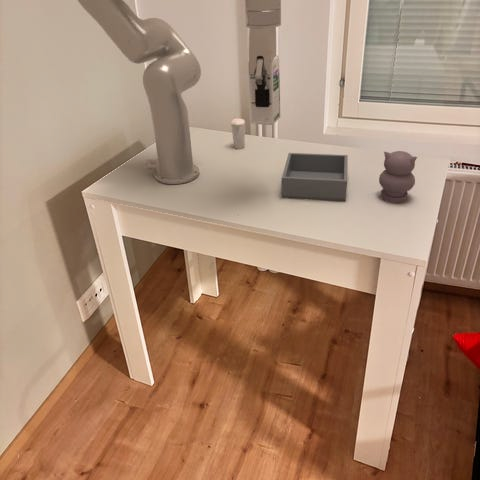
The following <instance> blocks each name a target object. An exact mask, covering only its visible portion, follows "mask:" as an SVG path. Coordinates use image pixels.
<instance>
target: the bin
mask: <svg viewBox="0 0 480 480" xmlns="http://www.w3.org/2000/svg"><path fill="white" fill-rule="evenodd" d="M348 157H349V155H348V154H330V153H329V154H328V153H326V154H325V153H306V152H304V153H303V152H300V153H299V152H288V154H287V158H286V161H285V166H284V169H283V172H282V176H281V198H282V199H295V200H314V201H330V202H331V201H332V202H346V199H347V198H346V197H347V191H348V190H347V188H348V169H349V167H348V165H349V164H348V163H349V162H348Z"/></svg>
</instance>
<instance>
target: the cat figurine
mask: <svg viewBox="0 0 480 480" xmlns="http://www.w3.org/2000/svg"><path fill="white" fill-rule="evenodd" d="M383 153H384V162H383V166H384V170H383V171H382V172H381V173H380V174H379V178H378V183H379V185H380V186H381V188H382V189H381V191H380V198H381V199H382V200H383V201H385V202H388V203H391V204H393V203H394V204H399V203H400V204H401V203H404V202H405V201H407V199H408V194H409V193H408V192H409V191H410V190H412V189H413V187H414V186H415V185H416V180H415V179H416V178H415V175H414V174H413V173H412V172H413V170H414V169H415V166H416V161H417V159H418V157H417V156H413V155H412V154H411V153H409V152H406V151H402V150H395V151H392V152H388V151H383Z"/></svg>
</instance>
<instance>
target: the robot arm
mask: <svg viewBox="0 0 480 480" xmlns="http://www.w3.org/2000/svg"><path fill="white" fill-rule="evenodd" d="M77 2H78V3H79V4H80V6H81V7H82V8H83V10H84V11H86V12H87V14H88V15H89V16H90V17H92V18H93V20H95V21H96V22H97V24H98V25H99V26H100V27H101V28H102V29H103V31H104V33H105V34H106V35H107V37H109V38H110V40H111V41H112V42H113V43H114V45H116V47H117V48H118V49H119V50H120V52H121V53H122V54H123V55H124V56H125V58H127V60H128V61H130V62H131V63H132V64H133V63H134V64H144V63H147V62H150V61H152V60H153V61H152V62H151V63H149V64H148V65H147V67H146V68H145V70H144V72H143V75H142V83H143V88H144V91H145V94H146V97H147V99H148V100H147V101H148V103H149V107H150V113H151V114H150V115H151V120H152V126H153V132H154V138H155V146H156V154H157V158H156V159H153V158H146V159H145V165H146V168H147V170H149V169H150V170H153V169H154V170H155V171H154V177H155V179H156V180H157V181H158V182H159V183H162V184H165V185H167V184H168V185H180V184H185V183H186V184H187V183H189V182H192V181H194V180H195V179H196V178H198V177H199V175H200V168H199V166H198V165H196V164H195V163H194V161H193V159H194V158H193V150H192V149H193V148H192V141H191V132H190V130H191V129H190V122H189V121H190V120H189V112H188V108H187V105H186V103H185V102H184V99H183V97H182V93H183V92H185V91H187V90H189V89H191V88H192V87H194V86H195V85H197V84H198V83H199V81H200V80H201V76H202V69H201V65H200V63H199V61H198V59H197V56H195V54H194V53H193V52H192V50H191V49H190V48H189V47H188V46H187V44H186V42H184V41H183V39H182V38H181V37H180V36H179V34H178V33H177V32H176V30H175V29H174V28H173V27H172V26H171V25H170V24H169V23H168V22H167V21H165V20H163V19H161V18H158V17H150V18H146V19H141V18H139V17H138V15H136V14H135V12H134V11H133V10H132V9H131V7H130V6H129V5H128V4H127V3H126V2H125V0H77ZM244 3H245V4H244V6H245V7H244V8H245V27H246V28H248V29H249V31H248V33H249V35H248V61H249V73H248V76H249V75H250V76H253V75H254V73H255V69H256V77H255V106H256V107H269V106H270V97H269V89H268V76H270V75H271V69H272V62H273V60H274V58H275V57H276V56H277V28H278V27H280V26H281V25H282V13H281V12H282V0H244ZM155 59H156V60H155ZM263 72H266V75H262V74H263ZM263 78H265V81H264V79H263Z"/></svg>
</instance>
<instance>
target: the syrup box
mask: <svg viewBox="0 0 480 480" xmlns="http://www.w3.org/2000/svg"><path fill="white" fill-rule="evenodd" d="M247 67H248V69H247V73H248V91H249V92H248V93H249V106H250V108H249V109H250V123H251V124H254V125H262V126H263V125H264V126H274V125H275V123H276V122H277V121H278V120H279V119H280V118H281V94H280V93H281V91H280V90H281V89H280V87H281V86H280V85H281V83H280V81H281V80H280V56H279V55H276V57H275V58H274V60H273V62H272V69H271V75H270V76H268V89H269V97H270V106H269V107H256V106H255V77H256V69H255V73H254V75H253V76H250V75H249V60H248V61H247ZM262 75H266V72H263V74H262ZM263 79H264V81H265V78H263Z"/></svg>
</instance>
